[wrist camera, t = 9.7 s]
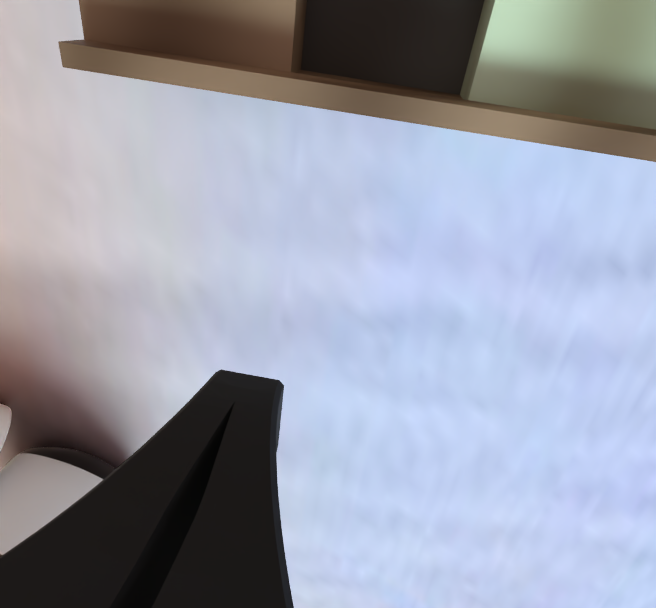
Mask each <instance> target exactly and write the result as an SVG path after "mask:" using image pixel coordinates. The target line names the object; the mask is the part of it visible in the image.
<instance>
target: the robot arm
mask: <svg viewBox="0 0 656 608" xmlns="http://www.w3.org/2000/svg"><path fill="white" fill-rule="evenodd" d="M283 390H284V385H283V384H282V383H281V382H280V381H279V380H275V379H269V378H264V377H258V376H253V375H247V374H242V373H236V372H231V371H225V370H219V371H218V372H216V373H215V374H214V375H213V376H212V377H211V378H210V379H209V381H208V382H207V383H206V384H205V385H204V386H203V387H202V388H201V389H200V390H199V391H198V392H197V393H196V394H195V395H194V396H193V398H192V399H191V400H190V401H189V402H188V403H187V404H186V405H185V406H184V407H183V408H182V409H181V410H180V411H179V412H178V413H177V414H176V415H175V416H174V417H173V418H172V419H171V420H169V421H168V422H167V423H166V424H165V425H164V426H163V427H162V428H161V429H160V430H159V431H158V432H157V433H156V434H155V435H154V436H153V437H151V438H150V439H149V440H148V441H147V442H146V443H145V444H144V445H143V446H142V447H141V448H140V449H138V450H137V451H136V452H135V453H134V454H133V455H132V456H130V457H129V458H128V459H127V460H126V461H125V462H123V463H122V464H121V465H120V466H119V467H118V468H116V469H115V470H114V471H113V472H112V473H111V474H109V475H108V476H107V477H106V478H105V479H104V480H102V481H101V482H100V483H99V484H98V485H96V486H95V487H94V488H93V489H91V490H90V491H89V492H88V493H86V494H85V495H84V496H83V497H81V498H80V499H79V500H78V501H76V502H75V503H74V504H72V505H71V506H70V507H69V508H67V509H66V510H65V511H63V512H62V513H61V514H59V515H58V516H57V517H55V518H54V519H53V520H51V521H50V522H49V523H47V524H46V525H45V526H43V527H42V528H41V529H39V530H38V531H36V532H35V533H34V534H32V535H31V536H29V537H28V538H26V539H25V540H24V541H22V542H21V543H19V544H18V545H16V546H15V547H14V548H12V549H11V550H9V551H8V552H6V553H5V554H3V555H2V556H1V557H0V608H294V607H293V601H292V596H291V590H290V585H289V578H288V572H287V565H286V559H285V552H284V545H283V537H282V529H281V520H280V509H279V499H278V486H277V463H276V452H277V447H278V440H279V430H280V420H281V410H282V400H283Z"/></svg>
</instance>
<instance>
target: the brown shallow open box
mask: <svg viewBox="0 0 656 608" xmlns="http://www.w3.org/2000/svg"><path fill="white" fill-rule="evenodd" d="M79 5H80V12H81V19H82V26H83V33H84V40H74V41H61V42H59V48H60V53H61V59H62V65H63V67H66V68H72V69H78V70H84V71H91V72H97V73H103V74H109V75H116V76H122V77H128V78H135V79H141V80H147V81H153V82H160V83H166V84H172V85H178V86H185V87H191V88H197V89H203V90H210V91H216V92H222V93H228V94H235V95H241V96H247V97H253V98H260V99H266V100H272V101H278V102H285V103H291V104H297V105H303V106H310V107H316V108H322V109H328V110H335V111H341V112H347V113H353V114H360V115H366V116H372V117H378V118H385V119H391V120H397V121H403V122H410V123H416V124H422V125H428V126H435V127H441V128H447V129H454V130H460V131H466V132H472V133H479V134H485V135H491V136H497V137H504V138H510V139H516V140H522V141H529V142H535V143H541V144H547V145H554V146H560V147H566V148H572V149H579V150H585V151H591V152H597V153H604V154H610V155H616V156H622V157H629V158H635V159H641V160H647V161H654V162H656V0H79Z"/></svg>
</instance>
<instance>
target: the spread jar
mask: <svg viewBox="0 0 656 608" xmlns="http://www.w3.org/2000/svg"><path fill="white" fill-rule="evenodd" d="M11 418H12V412H11V409H10V408H9V407H8V406H6V405H3V404H0V452H1V449H2V447H3V445H4V442H5V440H6V437H7V434H8V431H9V428H10V424H11ZM114 470H115V468H114V467H112V466H111V465H110V464H108V463H106V462H105V461H103V460H101V459H99V458H97V457H95V456H93V455H91V454H88V453H85V452H82V451H79V450H75V449H69V448H60V447H34V448H30V449H26V450H24V451H23V452H21V453H19V454H17V455H16V456H15V457H14V458H13V459H12V460H10V461H9V462H8V463H7V464H6V465H5V466H4V467H3V468H2V469H1V470H0V557H1V556H2V555H3V554H5V553H6V552H8V551H9V550H11V549H12V548H14V547H15V546H16V545H18V544H19V543H21V542H22V541H24V540H25V539H26V538H28V537H29V536H31V535H32V534H34V533H35V532H36V531H38V530H39V529H41V528H42V527H43V526H45V525H46V524H47V523H49V522H50V521H51V520H53V519H54V518H55V517H57V516H58V515H59V514H61V513H62V512H63V511H65V510H66V509H67V508H69V507H70V506H71V505H72V504H74V503H75V502H76V501H78V500H79V499H80V498H81V497H83V496H84V495H85V494H86V493H88V492H89V491H90V490H91V489H93V488H94V487H95V486H96V485H98V484H99V483H100V482H101V481H102V480H104V479H105V478H106V477H107V476H108V475H109V474H111V473H112V472H113V471H114Z"/></svg>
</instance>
